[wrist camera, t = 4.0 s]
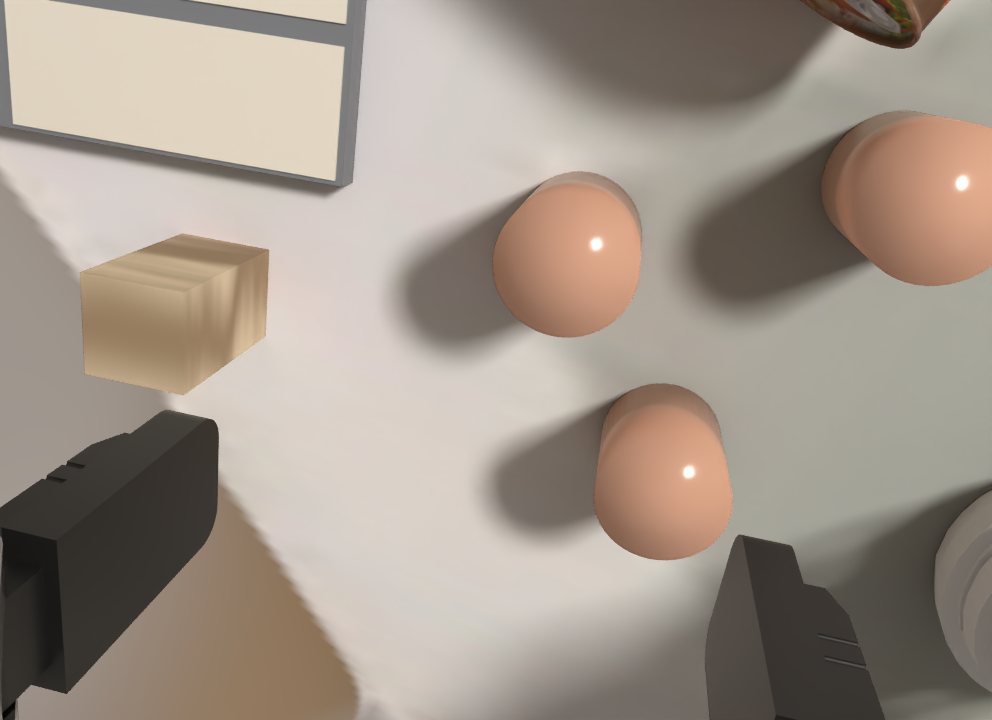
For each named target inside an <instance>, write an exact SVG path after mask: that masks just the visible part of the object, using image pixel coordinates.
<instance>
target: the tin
mask: <svg viewBox="0 0 992 720" xmlns="http://www.w3.org/2000/svg"><path fill="white" fill-rule="evenodd" d="M801 1H802V2H804V3H805V4H807V5H808V6H809V7H811V8H812V9H814V10H815V11H816V12H818V13H819V14H821V15H822V16H824V17H825V18H827V19H828V20H830V21H831V22H833V23H835V24H836V25H838V26H840V27H842V28H843V29H845V30H847V31H849V32H851V33H853V34H855V35H857V36H859V37H861V38H864V39H866V40H868V41H871V42H874V43H876V44H879V45H883V46H888V47H891V48H897V49H905V48H908V47H912V46H913V45H914V44H915V43H916V42H917V41H918V40H919V38H920V36H921V33H922V31H923V30H924V29H925V28H926V27H927V25H928V24H929V23H930V22H931V21H932V20H933V19H934V17H935V16H936V15H937V14H938V13H939V12H940V11H941V10H942V9H943V8H944V6H945V5H946V4H947V3H948V2H949V1H950V0H801Z"/></svg>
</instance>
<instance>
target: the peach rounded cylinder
mask: <svg viewBox="0 0 992 720" xmlns="http://www.w3.org/2000/svg"><path fill="white" fill-rule="evenodd" d="M821 193H822V201H823V205H824V208H825V211H826V214H827V215H828V217H829V219H830V221H831V222H832V224H833V225H834V226H835V228H836V229H837V230H838V231H839V232H840V233H841V234H843V235H844V236H845V237H846V238H847V239H848V240H849V241H850V242H851V243H852V244H853V245H854V246H856V247H857V248H858V249H859V250H860V251H861V252H862V253H863V254H864V255H865V256H866V257H867V258H868V259H870V260H871V261H872V262H873V263H874V264H875V265H876V266H877V267H878V268H880V269H881V270H882V271H884V272H885V273H886V274H888V275H890V276H892V277H894V278H896V279H898V280H901V281H903V282H907V283H911V284H915V285H924V286H939V285H947V284H952V283H956V282H960V281H963V280H966V279H969V278H971V277H973V276H975V275H978V274H980V273H982V272H983V271H985V270H986V269H988V268H990V267H991V266H992V129H991V128H988V127H986V126H983V125H979V124H975V123H971V122H966V121H961V120H956V119H951V118H946V117H941V116H936V115H931V114H926V113H921V112H916V111H893V112H887V113H883V114H880V115H876V116H874V117H872V118H869V119H867V120H865V121H864V122H862V123H860V124H858V125H857V126H856V127H854V128H853V129H852V130H850V131H849V132H848V133H847V134H846V135H845V136H844V137H843V138H842V139H841V140H840V141H839V143H838V144H837V145H836V146H835V148H834V149H833V151H832V152H831V154H830V156H829V158H828V160H827V163H826V165H825V168H824V172H823V176H822V184H821Z"/></svg>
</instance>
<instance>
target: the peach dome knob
mask: <svg viewBox="0 0 992 720" xmlns="http://www.w3.org/2000/svg"><path fill="white" fill-rule="evenodd" d="M641 245H642V227H641V220H640V217H639V213H638V211H637V208H636V206H635V204H634V203H633V201H632V199H631V198H630V197H629V195H628V194H627V193H626V192H625V191H624V190H623V189H622V188H621V187H620V186H619V185H618V184H616V183H615V182H613V181H612V180H610V179H608V178H606V177H604V176H601V175H599V174H595V173H590V172H569V173H564V174H561V175H557V176H555V177H553V178H551V179H549V180H547V181H546V182H544V183H542V184H541V185H540V186H539V187H538V188H536V189H535V190H534V191H533V193H532V194H531V195H530V196H529V197H528V198H527V199H526V200H525V202H524V203H523V204H522V205H521V206H520V207H519V208H518V209H517V211H516V212H515V213H514V214H513V215H512V216H511V217H510V218H509V220H508V221H507V222H506V224H505V225H504V227H503V228H502V230H501V232H500V234H499V236H498V239H497V241H496V244H495V248H494V253H493V275H494V280H495V284H496V287H497V290H498V292H499V295H500V297H501V299H502V300H503V302H504V304H505V305H506V307H507V308H508V309H509V310H510V311H511V313H512V314H513V315H514V316H515V317H516V318H517V319H519V320H520V321H521V322H522V323H524V324H525V325H527V326H528V327H530V328H532V329H534V330H536V331H538V332H541V333H543V334H547V335H551V336H556V337H579V336H584V335H588V334H591V333H594V332H596V331H599V330H601V329H603V328H604V327H606V326H608V325H609V324H611V323H612V322H613V321H615V320H616V319H617V318H618V317H619V316H620V315H621V314H622V313H623V312H624V310H625V309H626V308H627V307H628V305H629V303H630V302H631V300H632V298H633V296H634V294H635V291H636V289H637V285H638V282H639V275H640V263H641Z"/></svg>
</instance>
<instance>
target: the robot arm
mask: <svg viewBox="0 0 992 720" xmlns="http://www.w3.org/2000/svg"><path fill="white" fill-rule="evenodd" d="M218 447H219V433H218V427H217V424H216V423H215V421H214V420H212V419H208V418H203V417H199V416H194V415H189V414H185V413H180V412H175V411H171V410H164V411H162V412H160V413H159V414H157V415H156V416H154V417H153V418H152V419H150V420H149V421H147V422H146V423H145V424H143V425H142V426H141V427H139V428H138V429H137V430H135V431H134V432H133V433H131V434H128V433H123V434H120V435H117V436H115V437H112V438H109V439H106V440H103V441H100V442H97V443H95V444H92V445H90V446H89V447H87V448H86V449H84V450H83V451H82V452H80V453H79V454H77V455H76V456H75V457H73V458H72V459H70V460H68V461H67V464H66V465H61V466H60V467H59V468H57V469H55V470H54V471H53V472H51V473H50V474H48V475H47V478H46V480H45V479H41V480H40V481H38V482H37V483H35V484H34V485H32V486H31V487H29V488H28V489H26V490H25V491H24V492H22V493H21V494H19V495H18V496H16V497H15V498H13V499H12V500H11V501H9V502H8V503H6V504H5V505H3V506H2V507H1V508H0V720H19V713H18V702H17V698H18V697H19V696H20V695H21V694H22V693H23V692H24V691H25V690H26V689H27V688H28V687H29V686H30V685H35V686H38V687H42V688H46V689H50V690H53V691H57V692H61V693H65V694H67V693H68V692H69V691H70V690H71V689H72V687H73V686H74V685H75V684H76V683H77V682H78V681H79V680H80V679H81V678H82V677H83V676H84V674H86V672H87V671H88V670H89V669H90V668H91V667H92V666H93V665H94V664H95V663H96V662H97V660H98V659H99V658H100V657H101V656H102V655H103V654H104V653H105V652H106V651H107V650H108V648H109V647H110V646H111V645H112V644H113V643H114V642H115V641H116V640H117V639H118V637H120V635H121V634H122V633H123V632H124V631H125V630H126V629H127V628H128V627H129V626H130V624H132V622H133V621H134V620H135V619H136V618H137V617H138V616H139V615H140V614H141V612H143V610H144V609H145V608H146V607H147V606H148V605H149V604H150V602H152V601H153V600H154V598H155V597H156V596H157V595H158V594H159V593H160V592H161V591H162V590H163V589H164V588H165V586H166V585H167V584H168V583H169V582H170V581H171V580H172V579H173V578H174V577H175V576H176V574H178V572H179V571H180V570H181V569H182V568H183V567H184V566H185V565H186V564H187V563H188V562H189V561H190V559H191V558H192V557H193V556H194V555H195V554H196V553H197V552H198V551H199V550H200V549H201V547H202V546H203V545H204V544H205V542H206V541H207V539H208V537H209V535H210V533H211V530H212V528H213V525H214V522H215V518H216V513H217V498H218ZM857 645H858V641H857V638H856V635H855V632H854V630H853V627H852V624H851V621H850V618H849V615H848V614H847V613H846V612H845V611H844V610H843V608H842V607H841V606H840V605H839V604H838V603H837V602H836V600H835V599H834V598H833V597H832V596H831V595H830V594H829V592H828V591H827V590H826V589H825V588H821V587H816V586H811V585H807V584H803V580H802V577H801V573H800V570H799V567H798V563H797V560H796V556H795V553H794V550H793V548H792V546H790V545H786V544H782V543H777V542H772V541H768V540H763V539H758V538H754V537H749V536H745V535H738V536H737V537H736V539H735V541H734V543H733V545H732V548H731V552H730V555H729V559H728V562H727V565H726V569H725V572H724V576H723V579H722V583H721V586H720V589H719V593H718V596H717V600H716V603H715V607H714V610H713V613H712V617H711V620H710V624H709V629H708V634H707V641H706V650H705V671H706V682H707V694H708V705H709V717H710V720H885V718H884V715H883V712H882V709H881V706H880V703H879V701H878V698H877V695H876V692H875V689H874V686H873V684H872V681H871V678H870V675H869V672H868V671H866V670H865V667H866V664H865V661H864V658H863V655H862V652H861V649H860V648H859V647H857Z"/></svg>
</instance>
